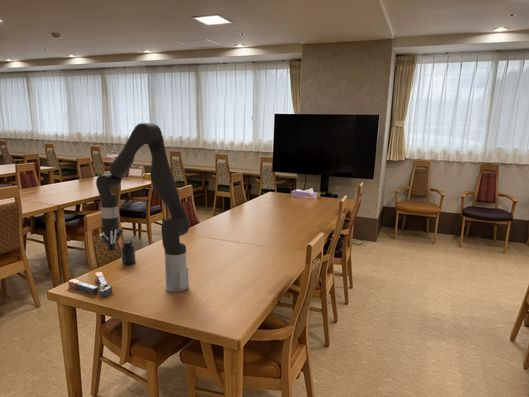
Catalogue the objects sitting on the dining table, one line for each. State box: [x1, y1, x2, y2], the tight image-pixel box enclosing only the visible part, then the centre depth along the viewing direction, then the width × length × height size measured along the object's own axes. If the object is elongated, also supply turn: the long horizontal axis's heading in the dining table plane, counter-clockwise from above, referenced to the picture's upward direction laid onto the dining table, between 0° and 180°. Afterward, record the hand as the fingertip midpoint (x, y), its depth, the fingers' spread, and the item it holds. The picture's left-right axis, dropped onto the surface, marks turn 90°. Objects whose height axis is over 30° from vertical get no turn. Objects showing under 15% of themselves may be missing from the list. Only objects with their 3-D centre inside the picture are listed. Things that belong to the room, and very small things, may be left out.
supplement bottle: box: [120, 239, 136, 266], centre depth 196 cm, size 7×7×12 cm
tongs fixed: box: [67, 278, 113, 298], centre depth 163 cm, size 21×5×4 cm, turn 63°
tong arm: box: [94, 271, 109, 288], centre depth 170 cm, size 16×3×3 cm, turn 33°
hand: (111, 250), depth 178 cm, fingers closed
